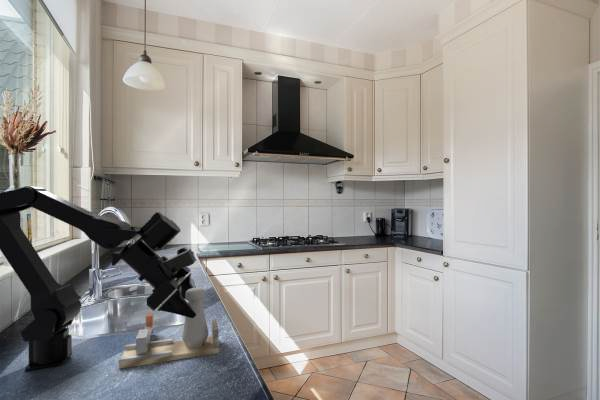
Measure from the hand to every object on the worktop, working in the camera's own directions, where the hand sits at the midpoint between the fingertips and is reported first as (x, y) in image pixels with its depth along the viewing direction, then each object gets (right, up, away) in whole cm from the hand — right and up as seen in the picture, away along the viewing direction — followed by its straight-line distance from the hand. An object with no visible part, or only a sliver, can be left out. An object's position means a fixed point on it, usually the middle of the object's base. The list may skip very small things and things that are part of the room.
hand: (197, 309), depth 74 cm
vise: (-5, -9, -2) cm, 11 cm away
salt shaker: (-1, -8, 0) cm, 8 cm away
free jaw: (-13, -8, +1) cm, 15 cm away
